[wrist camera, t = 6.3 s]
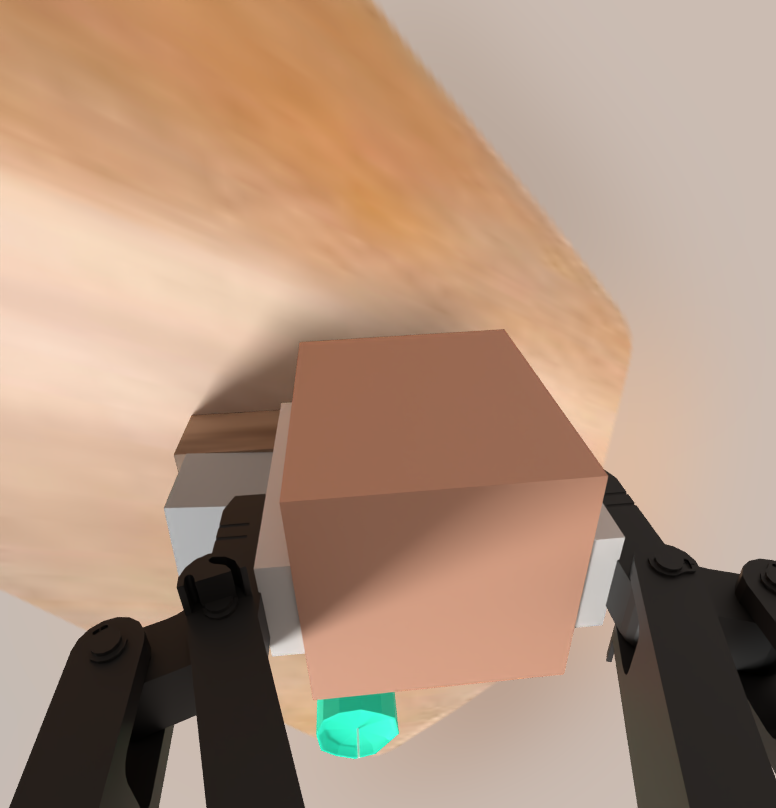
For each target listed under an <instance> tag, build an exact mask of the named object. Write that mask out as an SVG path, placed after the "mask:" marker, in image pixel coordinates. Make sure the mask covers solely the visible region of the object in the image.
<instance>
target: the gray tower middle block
mask: <svg viewBox="0 0 776 808" xmlns="http://www.w3.org/2000/svg"><path fill="white" fill-rule="evenodd" d="M272 456H273V452H246V453H192V454H186V456H185V458H184V461H183V463H182V465H181V468H180V470H179V473H178V475H177V478H176V480H175V482H174V485H173V487H172V490H171V492H170V494H169V497H168V499H167V502H166V504H165V507H164V511H165V516H166V520H167V525H168V529H169V534H170V538H171V543H172V547H173V552H174V556H175V561H176V565H177V570H178V574H179V576H180V574H181V573H182V571H183V570H184V568H185V567H186V566H188V565H189V564H190V563H191V562H193V561H194V560H195V559H197V558H200V557H202V556H204V555H206V554H210V553H212V551H213V547H214V543H215V541H216V535H217V531H218V528H219V524H220V520H221V516H222V512H223V510H224V508H225V507H226V506H227V505H228V504H229V502H230V501H231V500H232V499H233V498H234V496H241V495H254V494H266V492H267V486H268V480H269V474H270V468H271V462H272Z"/></svg>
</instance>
